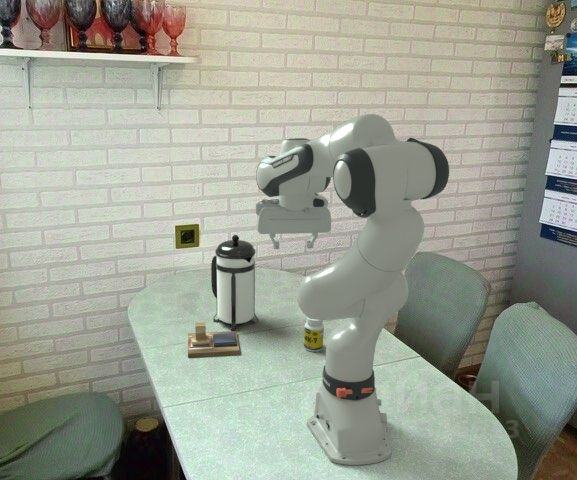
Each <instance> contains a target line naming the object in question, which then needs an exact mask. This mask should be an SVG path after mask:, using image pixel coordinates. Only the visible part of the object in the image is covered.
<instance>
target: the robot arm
mask: <svg viewBox="0 0 577 480" xmlns="http://www.w3.org/2000/svg"><path fill="white" fill-rule="evenodd" d="M279 150H280V151H279V155H266V156H265V157H263V158H262V159H261V160H260V162H259V163H258V165H257V166H256V172H255V173H256V174H255V178H256V179H255V180H256V185H257V187H258V189H259V190H260V192H262V193H263V194H264V195H265V196H267V197H269V198H272V199H266V198H264V199H263V198H262V199H261V200H259V201H257V203H256V205H255V214H256V216H257V218H256V232H257V233H259V234H260V235H269V238H270V240H271V241H272V243H273V244H272V245H273V246H272V249H273V250H280V241H276V239H275V238H276V234H277V235H278V234H279V235H282V234H285V235H286V234H311V238H310V239H309V240H306V244H307V245H306V248H307V249H314V247H315V246H314V243H315V242H316V240H317V239H318V237H319V234H323V233H327V234H328V233H330V231H331V230H332V217H331V216H332V215H331V210H330V209H329V208H328V207H329V200H328V198H327V197H325V196H324V195H322V194H321V193H323V192H324V191H325V190H326V189H327V188H328V187H329V185H330V184H331V179H332V181H333V182H332V183H333V186H334V187H333V188H334V191H335V193H336V195H337V197H338V198H339V199H340V200H341V202H342V203H343V204H344V205H345V206H346V207H347V208H348V209H350V210H352V212H353V214H354V215H355V216H357V217H359V218H362V219H366V222H365V225H364V226H363V228H362V229H361V230H360V231H359V234H358V235H357V236H356V239H355V241H354V242H353V244H352V245H351V246H350V248H349V249H348V251H346V252H345V253H344V254H343V255H341V256H339V258H337V259H336V260H335V261H333V262H332V263H331V264H329V265H327V266H326V267H324V268H322V269H320V270H318V271H316V272H314V273H311V274H307V275H306V276H304V277H303V278H302V280H301V281H300V284H299V285H298V288H297V294H296V295H297V297H296V299H297V303H298V307H299V308H300V310H301V313H303V314H304V316H306V318H307V317H308V318H309V319H316V320H323V321H329V322H330V321H340V320H344V321H343V322H342V323H341V324H340V325H338V326H337V327H335V328H334V329H332V331H331V332H330V333H329V334H328V337H327V338H326V344H325V362H324V363H325V364H324V365H323V367H322V368H323V369H322V370H323V371H322V375H321V377H322V384H321V386H320V387H319V388H318V390H317V391H316V392H315V397H314V406H313V407H314V408H313V415H312V416H310V417H309V418H308V419H307V421H306V426H307V427H308V429H309V430H310V432H311V433H312V435H313V436H314V438H315V439H316V441H317V442H318V444H319V445H320V447H321V449H322V450H323V452H324V454H326V456H327V458H328V459H329V460H330V462H333V463H335V464H339V465H346V466H348V465H349V466H356V465H357V466H359V465H368V464H369V465H370V464H375V463H376V464H377V463H379V462H383V461H385V460H387V459H389V458H390V457H392V450H391V445H390V439H389V435H388V431H387V426H386V424H387V423H388V415H387V413H386V412H381V410H380V408H379V406H382V399H378V395H377V387H376V385H375V383H376V376H375V370H374V362H375V361H374V359H375V354H376V353H375V352H376V346H377V342H378V339H379V337H380V335H381V332H382V331H383V329H384V328H385V326H386V324H387V323H388V321H389V320H390V319H391V318H392V317H393V316H394V315H395V314H396V313H397V312H398V311H400V310H401V309H402V308H403V307H405V304H406V303H407V301H408V297H409V284H408V281H407V278H406V276H405V275H404V274H403V273H402V272H403V271H404V269H405V268H406V267H407V265H408V264H409V263H410V262H411V260H413V257H414V255H415V253H416V252H417V250H418V248H419V246H420V243H421V242H422V239H423V236H424V235H425V234H424V233H425V222H424V218H423V217H422V215H421V213H420V211H418V209H416V208H415V207H414V206H412V205H413V204H412V202H413V201H417V200H426V199H430V198H433V197H435V196H437V195H439V194H441V193H442V192H443V191H444V190H445V189H446V186H447V184H448V182H449V178H450V165H449V161H448V158H447V156H446V154H445V153H444V151H443V150H442V149H441V148H439V146H437V145H434V144H431V143H429V142H428V143H427V142H425V141H424V142H423V141H420V140H418V139H416V138H413V137H409V138H408V139H407V140H405V141H402V140H399V139H397V137H396V136H395V132H394V129H393V127H392V125H391V124H390V123H389V121H388V120H387V119H386V118H384V117H383V116H381V115H379V114H375V113H366V114H362V115H359V116H355V117H353V118H351V119H348V120H346V121H344V122H342V123H341V124H340V125H338V126H336V127H335V128H333V129H331V130H329V131H328V132H326V133H324V134H322V135H320V136H318V137H316V138H313V139H312V140H310V139H309V138H303V137H300V138H299V137H298V138H287V139H286V138H285V139H284V140H283V141H282V142H281V145H280V149H279ZM274 197H277V198H274Z"/></svg>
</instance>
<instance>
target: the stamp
mask: <svg viewBox="0 0 577 480" xmlns="http://www.w3.org/2000/svg"><path fill="white" fill-rule="evenodd" d="M194 323H195V326H194V327H195V330H194V331H195V332H194V333H196V334H192V345H193V346H205V345H209V344H210V338H209V333H207V329H206V327H207V326H206V321H195V322H194Z"/></svg>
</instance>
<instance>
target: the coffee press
mask: <svg viewBox="0 0 577 480" xmlns="http://www.w3.org/2000/svg"><path fill="white" fill-rule="evenodd" d="M214 253H215V255H214V256H213V258H212V260H211V264H210V265H211V266H210V267H211V268H210V269H211V271H210V272H211V273H210V274H211V276H210V278H211V281H210V283H211V290H212V294H213V296H214V298H215V299H216V314H214V316H213V322H218V321H221V322H223V323H226V324H231V327H230V330H231V331H237V330H236V329H237V328H236V327H237V325H239V324H245V323H247V322H249V321H251V322H253V323H254V324H255V323H256V324H257V323H258V322H259V317H258V316H257V315H256V313H255V312H256V311H255V310H256V308H255V307H256V306H255V304H256V299H255V298H256V297H255V296H256V287H255V286H256V261H255V255H256V249H255V247H254V245H253V244H252V243H251V242H249V241H246V240H240V236H238V235H237V234H233V235H232V237H231V240H226V241H223V242H220V244H218V246H217V247H216V249H215V251H214ZM216 316H217V319H215V318H216ZM253 317H254V318H255V319H256V320H255V319H253Z"/></svg>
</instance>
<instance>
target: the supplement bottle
mask: <svg viewBox="0 0 577 480" xmlns="http://www.w3.org/2000/svg"><path fill="white" fill-rule="evenodd" d="M305 321H306V322H305V323H304V331H303V332H304V334H303V348H304V350H306V351H308V352H311V353H315V352H316V353H317V352H321V350H323V348H324V332H325V330H324V329H325V325H324V323H323V322H324V320H316V319H309V318H308V317H307V316H306V319H305Z"/></svg>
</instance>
